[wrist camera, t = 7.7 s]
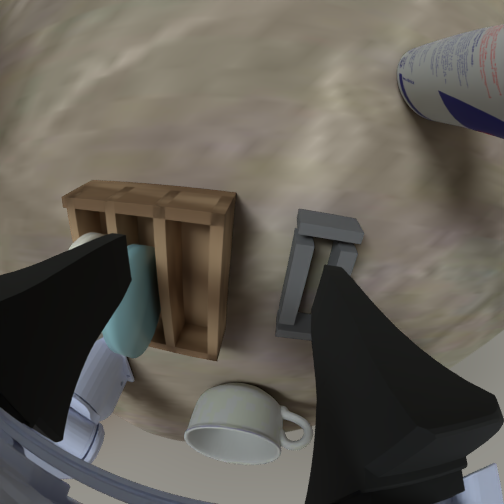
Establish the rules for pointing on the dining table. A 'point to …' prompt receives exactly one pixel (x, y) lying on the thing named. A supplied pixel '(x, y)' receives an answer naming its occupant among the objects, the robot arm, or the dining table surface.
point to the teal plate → (136, 306)
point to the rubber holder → (301, 253)
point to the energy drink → (458, 80)
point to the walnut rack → (170, 252)
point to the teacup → (242, 425)
